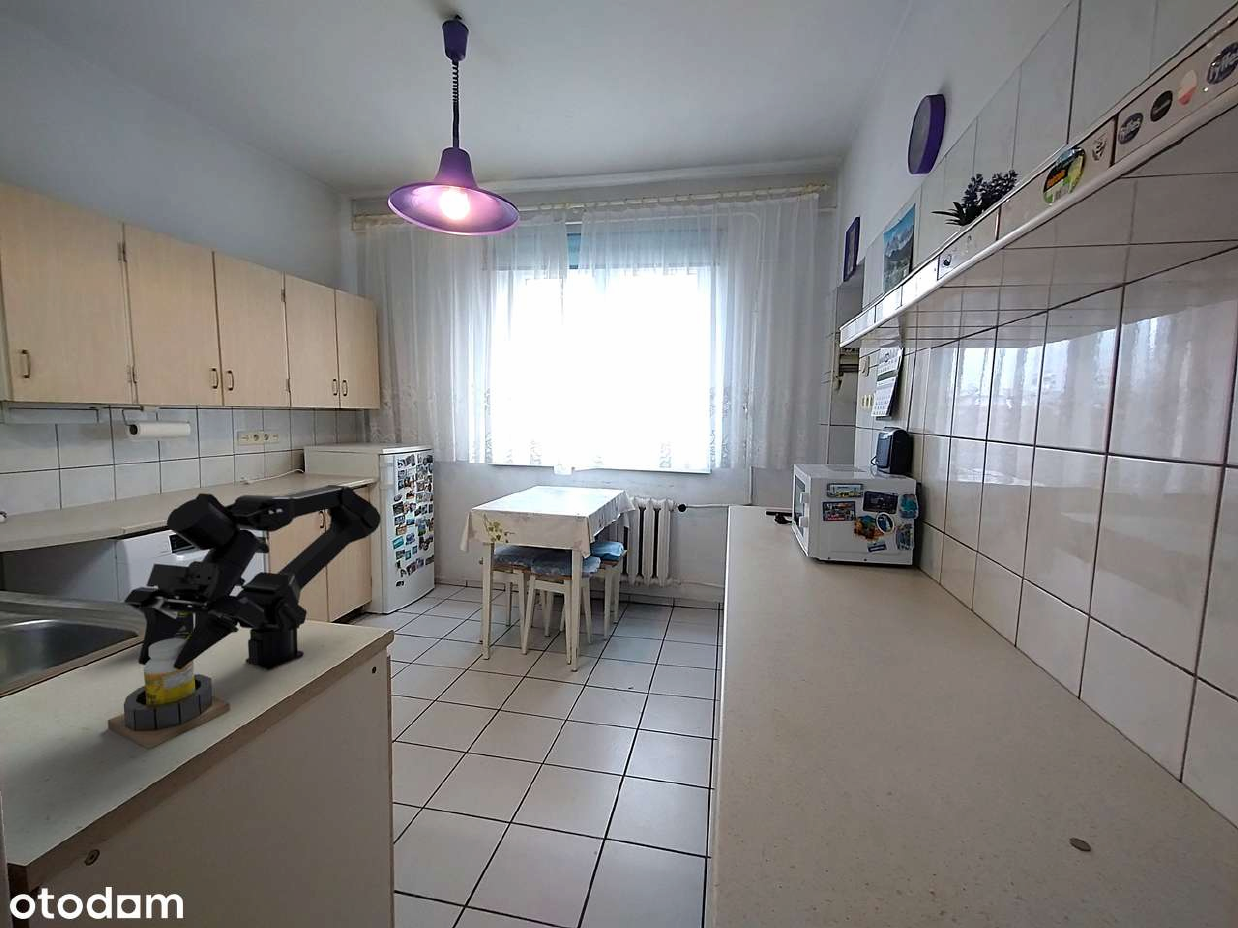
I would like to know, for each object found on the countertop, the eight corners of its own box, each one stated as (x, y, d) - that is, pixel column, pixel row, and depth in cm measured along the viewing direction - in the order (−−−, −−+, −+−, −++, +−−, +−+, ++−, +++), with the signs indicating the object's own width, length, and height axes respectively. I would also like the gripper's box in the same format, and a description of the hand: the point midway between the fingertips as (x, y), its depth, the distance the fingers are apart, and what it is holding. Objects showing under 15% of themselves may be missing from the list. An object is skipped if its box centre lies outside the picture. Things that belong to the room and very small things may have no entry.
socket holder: (190, 693, 83) (189, 667, 83) (230, 710, 79) (228, 682, 79) (108, 728, 74) (106, 699, 73) (148, 748, 70) (146, 718, 70)
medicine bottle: (148, 645, 98) (144, 582, 97) (169, 629, 105) (165, 570, 104) (194, 642, 100) (191, 580, 99) (212, 627, 107) (209, 568, 105)
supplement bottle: (200, 707, 77) (196, 643, 76) (151, 724, 73) (146, 656, 72) (190, 693, 80) (186, 632, 79) (143, 708, 76) (138, 644, 75)
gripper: (132, 534, 79) (49, 638, 69) (244, 543, 76) (174, 653, 67) (186, 569, 88) (119, 666, 78) (289, 578, 85) (232, 680, 75)
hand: (159, 666), depth 74 cm, fingers closed on supplement bottle, 5 cm apart
